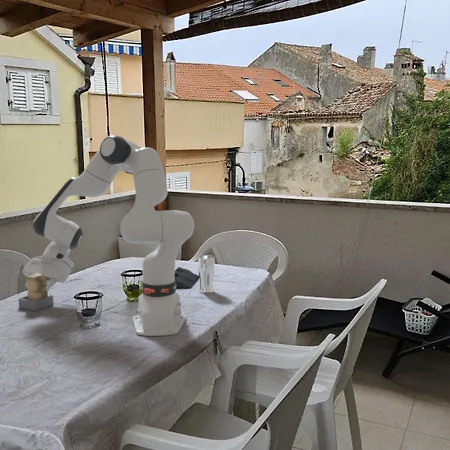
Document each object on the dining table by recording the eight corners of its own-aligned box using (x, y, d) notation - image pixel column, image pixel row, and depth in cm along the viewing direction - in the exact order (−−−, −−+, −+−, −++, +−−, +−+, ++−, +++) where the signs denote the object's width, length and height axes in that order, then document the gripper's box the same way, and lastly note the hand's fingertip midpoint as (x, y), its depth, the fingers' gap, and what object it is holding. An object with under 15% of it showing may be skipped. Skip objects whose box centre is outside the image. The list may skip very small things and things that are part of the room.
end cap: (37, 301, 198) (36, 292, 198) (53, 304, 195) (53, 295, 194) (19, 307, 190) (18, 298, 190) (35, 311, 187) (35, 302, 186)
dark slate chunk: (157, 289, 217) (157, 278, 216) (169, 275, 239) (169, 266, 238) (192, 290, 215) (192, 279, 215) (200, 277, 237) (200, 267, 236)
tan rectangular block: (40, 302, 197) (38, 272, 195) (48, 303, 195) (46, 273, 193) (28, 306, 192) (26, 276, 190) (36, 308, 190) (34, 277, 188)
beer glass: (215, 289, 216) (215, 255, 213) (213, 294, 209) (213, 259, 206) (199, 288, 216) (199, 254, 214) (197, 293, 209) (196, 258, 207)
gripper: (29, 251, 201) (11, 280, 194) (69, 256, 192) (51, 287, 185) (38, 259, 206) (21, 288, 198) (77, 265, 197) (60, 296, 190)
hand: (36, 288), depth 192 cm, fingers open, 8 cm apart
